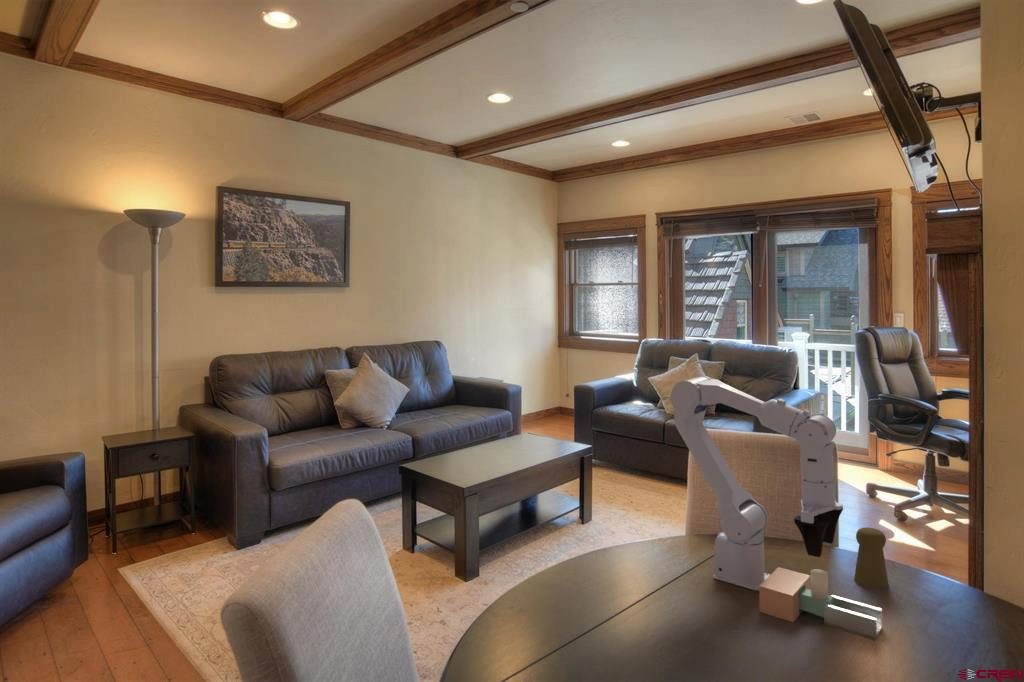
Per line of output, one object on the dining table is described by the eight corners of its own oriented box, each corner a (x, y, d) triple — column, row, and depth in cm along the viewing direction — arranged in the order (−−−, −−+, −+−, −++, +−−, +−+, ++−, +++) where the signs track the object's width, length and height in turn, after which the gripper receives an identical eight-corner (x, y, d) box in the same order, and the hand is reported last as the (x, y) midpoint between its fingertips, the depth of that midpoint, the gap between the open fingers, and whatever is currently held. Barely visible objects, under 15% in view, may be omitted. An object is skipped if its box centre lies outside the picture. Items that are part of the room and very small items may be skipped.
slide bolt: (783, 604, 112) (782, 566, 111) (788, 598, 114) (787, 561, 113) (829, 618, 106) (828, 578, 106) (833, 612, 108) (833, 573, 108)
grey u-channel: (824, 624, 106) (824, 605, 106) (832, 613, 110) (832, 594, 109) (875, 640, 101) (875, 620, 100) (882, 628, 104) (882, 608, 104)
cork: (894, 590, 117) (893, 536, 116) (860, 588, 118) (860, 535, 118) (881, 576, 123) (881, 524, 122) (849, 574, 124) (849, 523, 123)
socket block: (759, 611, 111) (759, 585, 111) (778, 591, 119) (778, 567, 118) (793, 622, 107) (792, 595, 107) (810, 600, 115) (810, 575, 114)
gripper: (829, 492, 105) (832, 567, 105) (851, 472, 115) (854, 540, 116) (787, 486, 110) (790, 557, 110) (812, 467, 120) (815, 533, 121)
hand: (820, 548), depth 113 cm, fingers open, 7 cm apart
